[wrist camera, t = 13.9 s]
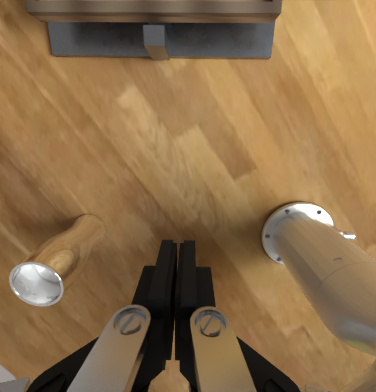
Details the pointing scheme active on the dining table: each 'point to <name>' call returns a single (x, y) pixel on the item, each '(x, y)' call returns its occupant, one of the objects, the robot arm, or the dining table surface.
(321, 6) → the dining table surface
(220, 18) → the long rimmed wooden tray
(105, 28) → the pivot stand
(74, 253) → the beer glass
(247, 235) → the dining table surface
